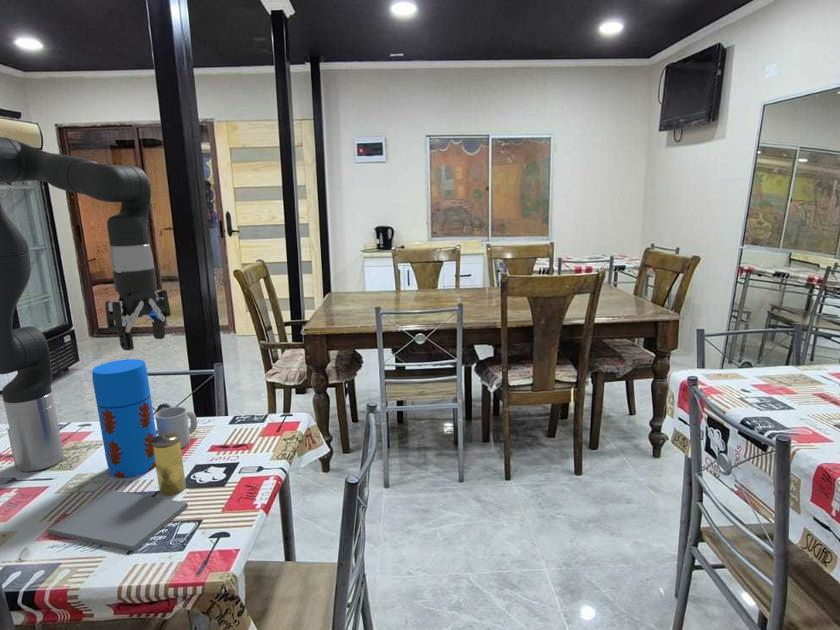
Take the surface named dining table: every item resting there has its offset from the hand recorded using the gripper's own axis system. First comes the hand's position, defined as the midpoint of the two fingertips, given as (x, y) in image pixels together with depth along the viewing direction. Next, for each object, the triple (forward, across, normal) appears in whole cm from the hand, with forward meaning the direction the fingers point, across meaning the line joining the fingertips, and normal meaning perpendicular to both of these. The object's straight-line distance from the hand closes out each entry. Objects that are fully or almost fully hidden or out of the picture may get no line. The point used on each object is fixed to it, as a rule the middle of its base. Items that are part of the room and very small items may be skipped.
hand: (144, 344), depth 109 cm
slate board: (+32, +14, +2) cm, 35 cm away
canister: (+32, +2, +4) cm, 32 cm away
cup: (+32, -17, -10) cm, 38 cm away
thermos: (+32, -4, -12) cm, 35 cm away
